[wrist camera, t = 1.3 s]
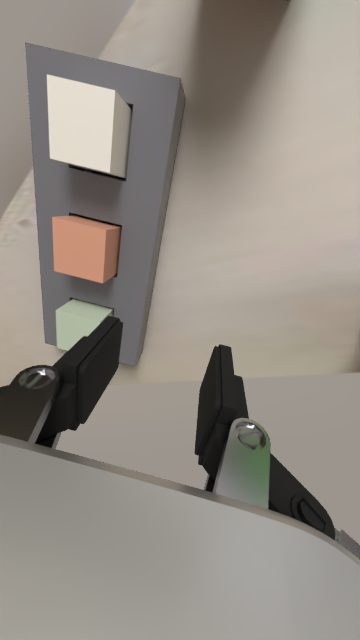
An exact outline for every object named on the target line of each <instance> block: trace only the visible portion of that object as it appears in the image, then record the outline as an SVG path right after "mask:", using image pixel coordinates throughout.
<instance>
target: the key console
mask: <svg viewBox="0 0 360 640" xmlns="http://www.w3.org/2000/svg"><path fill="white" fill-rule="evenodd" d="M25 47H26V61H27V77H28V91H29V107H30V120H31V121H30V122H31V137H32V153H33V168H34V183H35V198H36V213H37V228H38V243H39V259H40V274H41V289H42V304H43V319H44V334H45V343H47V344H51V345H55V346H57V333H56V310H57V309H58V308H60V307H61V306H63V305H64V304H66V303H68V302H69V301H71V300H72V299H78V300H82V301H86V302H90V303H94V304H98V305H102V306H106V307H109V308H113V309H114V317H116V318H120V322H123V330H122V339H121V348H120V356H119V362H120V363H123V364H127V365H131V366H135V365H136V363H137V361H138V359H139V357H140V355H141V353H142V350H143V344H144V339H145V333H146V327H147V321H148V315H149V309H150V303H151V298H152V292H153V286H154V280H155V274H156V268H157V262H158V257H159V251H160V245H161V239H162V233H163V227H164V221H165V216H166V210H167V204H168V198H169V192H170V186H171V180H172V175H173V169H174V163H175V157H176V151H177V145H178V139H179V134H180V128H181V122H182V116H183V110H184V104H185V94H184V90H183V86H182V83H181V79H180V78H177V77H172V76H168V75H164V74H159V73H155V72H151V71H146V70H142V69H138V68H133V67H129V66H125V65H121V64H116V63H112V62H108V61H103V60H99V59H95V58H90V57H86V56H82V55H77V54H73V53H69V52H64V51H60V50H55V49H51V48H47V47H43V46H38V45H34V44H30V43H25ZM47 74H48V75H52V76H56V77H60V78H65V79H69V80H73V81H78V82H82V83H86V84H90V85H95V86H99V87H103V88H107V89H112V90H115V91H116V92H117V93H118V94H119V95H120V97H121V98H122V99H123V100H124V101H125V103H126V104H127V105H128V106H129V107H130V108H131V110H132V111H133V113H132V124H131V135H130V145H129V156H128V167H127V178H122V177H118V176H113V175H109V174H105V173H101V172H97V171H93V170H89V169H85V168H81V167H77V166H74V165H70V164H67V163H64V162H60V161H57V160H53V159H50V148H49V121H48V95H47ZM74 215H79V216H83V217H88V218H92V219H96V220H100V221H104V222H108V223H112V224H116V225H120V226H122V232H121V242H120V253H119V264H118V273H117V274H116V275H114V276H113V277H112V278H110V279H109V280H107V281H106V282H104V283H99V282H95V281H91V280H88V279H84V278H80V277H76V276H72V275H68V274H64V273H60V272H56V271H54V254H53V227H52V217H57V216H74Z"/></svg>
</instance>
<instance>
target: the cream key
mask: <svg viewBox="0 0 360 640" xmlns="http://www.w3.org/2000/svg"><path fill="white" fill-rule="evenodd" d="M47 95H48V121H49V148H50V159H53V160H57V161H60V162H64V163H67V164H70V165H74V166H77V167H81V168H85V169H89V170H93V171H97V172H101V173H105V174H109V175H113V176H118V177H122V178H127V167H128V156H129V145H130V135H131V124H132V113H133V111H132V110H131V108H130V107H129V106H128V105H127V104H126V103H125V101H124V100H123V99H122V98H121V97H120V95H119V94H118V93H117V92H116V91H115V90H112V89H107V88H103V87H99V86H95V85H90V84H86V83H82V82H78V81H73V80H69V79H65V78H60V77H56V76H52V75H48V74H47Z"/></svg>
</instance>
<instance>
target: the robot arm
mask: <svg viewBox="0 0 360 640" xmlns="http://www.w3.org/2000/svg"><path fill="white" fill-rule="evenodd" d="M122 330H123V322H120V318H116V317H112V316H107V317H106V318H105V319H104V320H103V321H102V322H101V323H100V324H99V325H98V326H97V327H96V328H95V329H94V330H93V331H92V332H91V334H90V335H89V336H88V337H87V336H83V337H82V338H81V339H80V340H79V341H78V342H77V343H76V344H75V345H74V346H73V347H72V348H71V349H70V350H69V351H67V352H66V353H65V354H64V355H63V356H62V357H61V358H60V359H59V360H58V361H57V362H56V363H55V364H54V365H53V366H47V365H37V366H32V367H29V368H26V369H24V370H23V371H21V372H19V373H18V374H17V375H16V377H15V378H14V379H13V381H12V382H11V383H10V385H7V386H3V387H0V640H360V545H359V544H358V543H357V542H356V541H354V540H353V539H352V538H351V537H350V536H349V535H348V534H346V533H345V532H344V531H343V530H341V531H340V532H339V531H338V530H336V529H335V528H334V526H333V523H332V520H331V518H330V516H329V515H328V513H327V511H326V510H325V509H324V508H323V506H322V505H321V504H320V503H319V502H318V501H317V500H316V499H315V497H313V495H312V494H311V493H310V492H309V491H307V489H306V488H304V486H303V485H302V484H301V483H300V482H299V481H298V480H297V479H296V478H295V477H294V476H293V475H292V474H291V473H290V472H289V471H288V470H287V469H286V468H285V467H284V466H283V465H282V464H281V463H280V462H279V461H278V460H277V459H276V458H275V457H274V456H273V455H272V454H271V453H270V445H271V444H270V438H269V436H268V434H267V433H266V431H265V430H264V428H263V427H261V426H260V425H259V424H258V423H256V422H255V421H253V420H250V419H249V417H248V410H247V404H246V398H245V392H244V386H243V380H242V377H240V376H236V375H234V368H233V360H232V351H231V347H228V346H224V345H221V344H220V345H219V347H217V346H215V347H214V349H213V352H212V355H211V358H210V361H209V364H208V367H207V370H206V373H205V376H204V379H203V381H202V385H201V388H200V393H199V405H198V419H197V430H196V442H195V454H196V455H199V461H198V464H199V465H203V467H204V469H205V470H206V471H207V473H208V476H207V480H206V483H205V487H204V490H201V489H197V488H194V487H190V486H187V485H183V484H180V483H176V482H173V481H169V480H166V479H162V478H158V477H155V476H151V475H147V474H144V473H140V472H137V471H133V470H129V469H126V468H122V467H119V466H115V465H111V464H107V463H104V462H100V461H97V460H93V459H89V458H86V457H82V456H78V455H75V454H71V453H67V452H64V451H60V450H56V449H55V448H56V446H57V443H58V440H59V437H60V435H61V432H62V431H65V430H67V429H70V430H74V431H75V430H76V429H77V428H78V426H79V425H80V423H81V424H84V423H85V422H86V420H87V419H88V417H89V415H90V413H91V412H92V410H93V409H94V407H95V405H96V404H97V402H98V400H99V399H100V397H101V395H102V394H103V392H104V390H105V389H106V387H107V385H108V384H109V382H110V380H111V379H112V377H113V375H114V374H115V372H116V370H117V368H118V364H119V356H120V348H121V339H122Z"/></svg>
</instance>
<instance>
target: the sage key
mask: <svg viewBox="0 0 360 640" xmlns="http://www.w3.org/2000/svg"><path fill="white" fill-rule="evenodd" d="M107 316H112V317H114V309H113V308H109V307H106V306H102V305H98V304H94V303H90V302H86V301H82V300H78V299H72V300H71V301H69V302H68V303H66V304H64V305H63V306H61V307H60V308H58V309H57V310H56V333H57V348H59V349H63V350H66V351H69V350H70V349H71V348H72V347H73V346H74V345H75V344H76V343H77V342H78V341H79V340H80V339H81V338H82V337H83V336H87V337H88V336H89V335H90V334H91V332H92V331H93V330H94V329H95V328H96V327H97V326H98V325H99V324H100V323H101V322H102V321H103V320H104V319H105V318H106V317H107Z"/></svg>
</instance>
